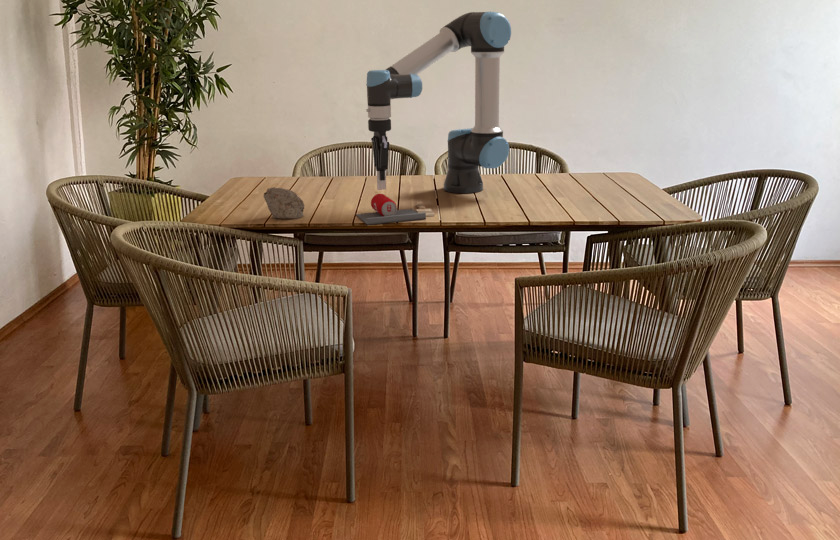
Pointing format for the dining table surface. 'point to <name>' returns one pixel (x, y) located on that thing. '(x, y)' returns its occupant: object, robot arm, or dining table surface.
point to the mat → (391, 217)
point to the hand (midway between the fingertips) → (381, 189)
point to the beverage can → (383, 205)
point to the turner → (424, 209)
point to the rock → (283, 203)
